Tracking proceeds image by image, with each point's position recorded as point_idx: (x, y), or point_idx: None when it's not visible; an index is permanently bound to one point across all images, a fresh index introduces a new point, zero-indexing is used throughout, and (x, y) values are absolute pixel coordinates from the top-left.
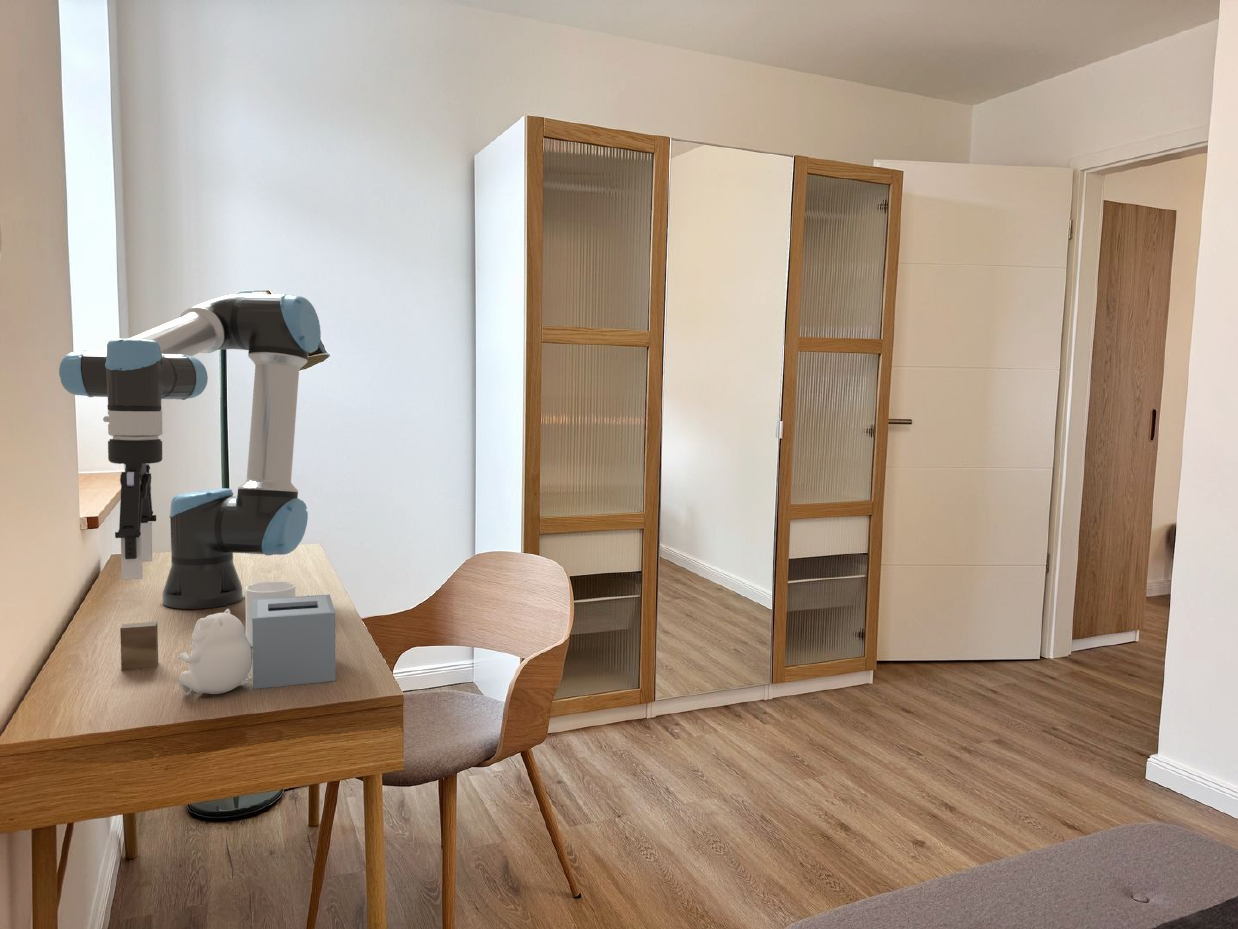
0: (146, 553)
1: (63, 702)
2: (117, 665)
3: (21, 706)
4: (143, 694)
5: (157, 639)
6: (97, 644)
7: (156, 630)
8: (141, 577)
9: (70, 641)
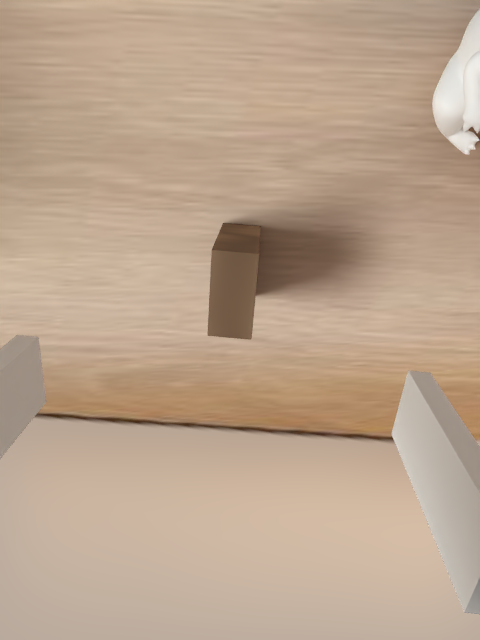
0: (20, 376)
1: None
2: None
3: None
4: (442, 250)
5: (224, 237)
6: None
7: (243, 247)
8: (431, 377)
9: None
